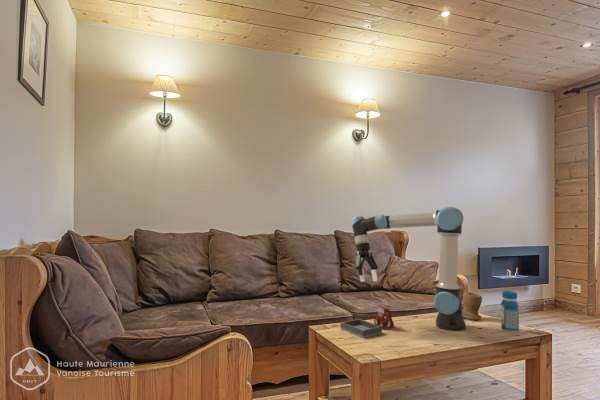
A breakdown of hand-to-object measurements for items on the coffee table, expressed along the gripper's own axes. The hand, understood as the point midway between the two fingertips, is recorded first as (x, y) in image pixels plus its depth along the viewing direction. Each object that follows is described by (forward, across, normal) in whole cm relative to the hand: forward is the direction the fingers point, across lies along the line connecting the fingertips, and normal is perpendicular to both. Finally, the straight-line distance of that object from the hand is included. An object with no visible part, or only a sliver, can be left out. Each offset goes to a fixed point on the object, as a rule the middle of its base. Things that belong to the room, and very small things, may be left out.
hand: (369, 281), depth 207 cm
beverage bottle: (+35, -44, +52) cm, 77 cm away
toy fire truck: (+25, -5, +1) cm, 25 cm away
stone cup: (+27, -55, +30) cm, 68 cm away
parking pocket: (+25, +10, -5) cm, 27 cm away
